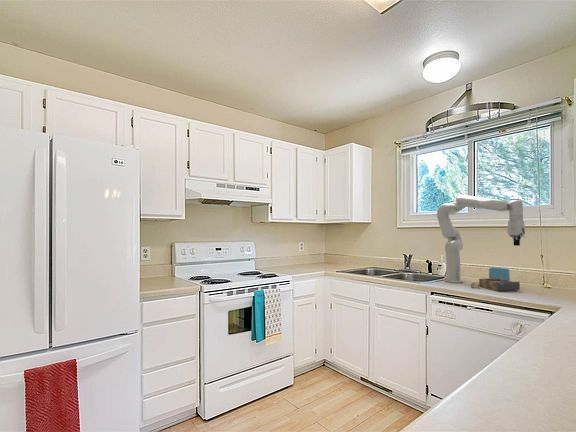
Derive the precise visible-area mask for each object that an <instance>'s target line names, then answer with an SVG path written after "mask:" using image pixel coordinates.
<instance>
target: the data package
mask: <svg viewBox="0 0 576 432" xmlns="http://www.w3.org/2000/svg"><path fill="white" fill-rule="evenodd" d="M510 277H511V276H510V269H509V268H507V267H500V266H499V267H497V266H495V267H494V266H491V267H489V269H488V279H493V278H498V279H503V280H508V281H511V279H510Z"/></svg>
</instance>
